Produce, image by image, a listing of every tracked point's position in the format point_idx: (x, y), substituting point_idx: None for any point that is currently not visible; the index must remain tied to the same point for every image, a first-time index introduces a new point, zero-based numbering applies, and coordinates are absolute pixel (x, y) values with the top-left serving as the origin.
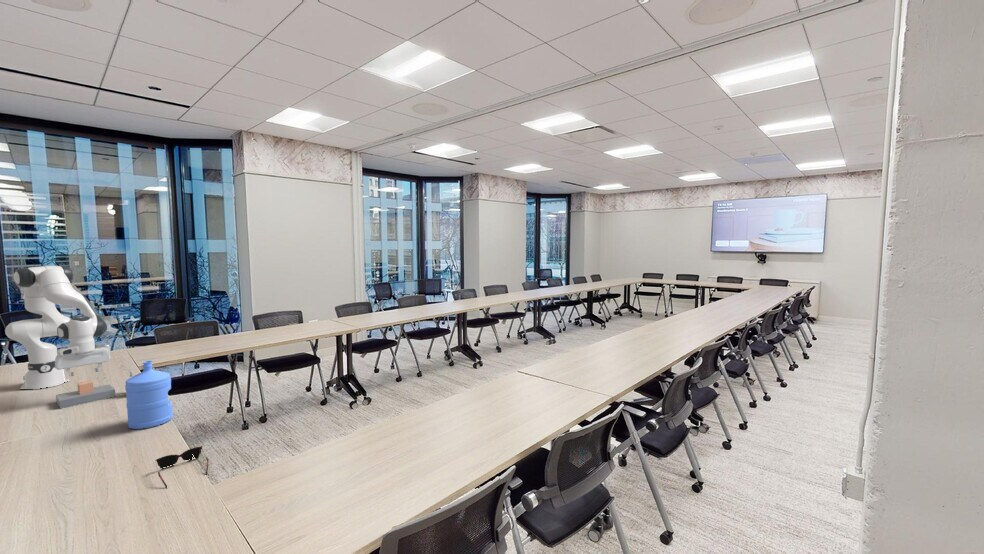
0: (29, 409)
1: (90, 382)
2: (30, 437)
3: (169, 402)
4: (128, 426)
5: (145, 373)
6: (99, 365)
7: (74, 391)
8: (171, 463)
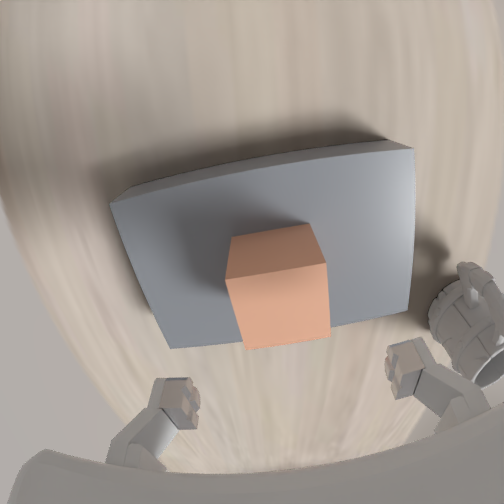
0: (57, 233)
1: (317, 327)
2: (184, 459)
3: None
4: None
5: None
6: (441, 416)
7: (204, 186)
8: None
